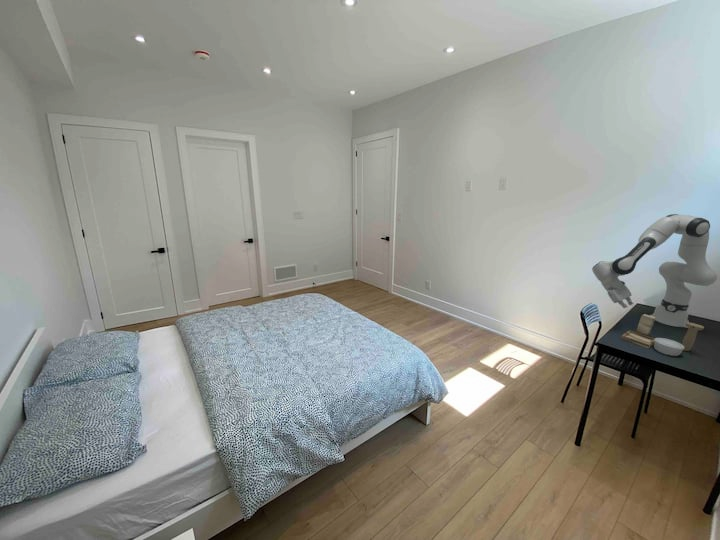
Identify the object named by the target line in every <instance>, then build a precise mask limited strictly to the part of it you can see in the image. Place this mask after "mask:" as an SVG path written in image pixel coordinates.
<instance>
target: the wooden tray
mask: <svg viewBox="0 0 720 540" xmlns="http://www.w3.org/2000/svg"><path fill="white" fill-rule="evenodd" d="M620 339H621V340H623V341H626V342H629V343H631V344H634V345H636V346H640V347H642V348H646V349H650V348H651V347H652V346H654V342H655V341H654V339H655V338H654V337H651V336H650V335H649V336H646V335H643V334H640V333H637V332H636V331H634V330H628V331H626V332H624V334H622V335H620Z"/></svg>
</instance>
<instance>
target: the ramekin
mask: <svg viewBox="0 0 720 540" xmlns="http://www.w3.org/2000/svg"><path fill="white" fill-rule="evenodd" d="M654 341H655V342H654V344H653V348H654V350H656V351H657V352H659V353H661V354H664V355H666V356H672V357H677V356H679V355H680V354H682V352H683V351H684V348H685V347H684V346H683V345H682V343H681V342H678V341H676V340H673V339H669V338H666V337H665V338H664V337H656V338H655V339H654Z"/></svg>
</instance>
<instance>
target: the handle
mask: <svg viewBox="0 0 720 540" xmlns="http://www.w3.org/2000/svg"><path fill="white" fill-rule="evenodd" d="M686 326H687V327H689V328H687V331H686V333H685V335H684V337H683V340H682V341H681V344H682V345H683V346H684V347H685V348H684V350H683V351H685V352H690V350H691V349H692V348H693V345H694V344H695V340H696V338H697V334H698V332H699V331H703V330H704V328H705V326H704V325H701V324H697V323H694V322H686Z"/></svg>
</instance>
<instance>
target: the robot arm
mask: <svg viewBox="0 0 720 540" xmlns="http://www.w3.org/2000/svg"><path fill="white" fill-rule="evenodd" d="M710 229H711V223H710V221H709V220H708V219H706V218H703V217H697V216H693V215H685V214H678V213H677V214H676V213H675V214H674V213H673V214H669V215H666V216H663V217H661V218H659V219H657V220H656V221H655V222H653V223H652V224H650V226H649V227H647V228H646V229H645V230H644V231H643V232H642V233H641V235H640V236H639V237H638V242H637V244H636V245H635V246H634V247H633V248H632V249H631V250H629V252H628V253H627V254H625V255H624V256H620V257H619V258H616V259H615V260H612V261H604V260H603V261H599V262H597V263H596V264H595V265H593V266H592V268H591V269H592V270H591V271H592V273H593V274H594V276H595V278H596V279H597V280H598V281H599V282H600V283H601V285H602V287H603V288H604V290H605V291H606V292H607V295H608V297H609V298H610V300H611V301H612V303H614V304H618V305H620V306H621V307H622V308H623V309H627V308H628V305H629V306H632V305H634V303H633V301H632V298H631V296H632V292H631V291H630V289H629V288H628V287H627V285H626V283H625V281H623V280H620V279H619V277H621V276H625V275H630V274H631V273H632V272H633V271H634V270H635V269H636V266H637V263H638V262H639V261H640V260H641V259H642V258H643V257H644V256H645V255H646V254H647V253H648V252H649V251H651V250H655V249H657V248H658V247H659V246H661V245H662V244H663V243H666V241H667V240H668V239H670V237H671V236H673V234H676V235H682V236H681V239H680V242H679V247H678V251H677V256H678V257H679V258H680V259H682V261H684V262H685V263H684V262H678V261H665V262H663V263H662V264H660V266H659V267H658V273H659V275H661V277H662V278H663V279H664V282H665V285H666V290H665V294H664V296H663V299H662V300H661V302H660V305H657V306H656V308H655V310H654V312H653V313H652V314H649V316H653V317H656V318H655V321H656V322H658V323H660V324H663V325H667V326H671V327H676V328H686V329H688V328H689V327H687V326H686V322H689V319H688V318H689V313H688V309H689V307H690V306H689V303H690V300H691V298H692V297H693V294H692V291H691V289H689V288H688V287H687V286H686V285H685V283H687V284H691V285H695V286H702V287H704V286H705V287H708V286H711V285H713V284H715V283H716V281H717V279H718V274H717V272H716V271H715V270H713V269H712V268H711V266H710V265H709V264H708V262H707V259H706V258H707V257H706V256H707V255H706V253H707V249H708V244H709V240H710ZM624 300H625V301H626V302H627V304H628V305H627V304H626V303H624Z"/></svg>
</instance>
